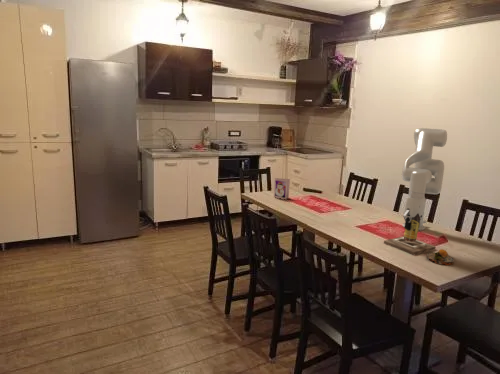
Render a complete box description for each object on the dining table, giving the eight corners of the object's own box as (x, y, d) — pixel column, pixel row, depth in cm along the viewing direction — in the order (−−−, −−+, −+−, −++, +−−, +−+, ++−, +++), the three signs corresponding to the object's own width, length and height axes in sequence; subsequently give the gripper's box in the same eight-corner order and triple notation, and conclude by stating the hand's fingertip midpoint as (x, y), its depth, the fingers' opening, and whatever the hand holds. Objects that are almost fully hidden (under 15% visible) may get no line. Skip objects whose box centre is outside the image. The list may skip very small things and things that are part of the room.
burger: (442, 255, 190) (445, 241, 188) (459, 265, 179) (461, 250, 177) (420, 256, 188) (423, 241, 186) (435, 266, 177) (438, 250, 175)
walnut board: (405, 238, 212) (405, 234, 212) (435, 249, 198) (435, 244, 197) (383, 243, 203) (384, 238, 202) (413, 255, 188) (414, 250, 188)
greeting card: (273, 197, 293) (274, 178, 290) (278, 195, 299) (279, 177, 296) (285, 200, 286) (287, 180, 283) (290, 198, 292) (292, 179, 289)
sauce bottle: (401, 239, 200) (406, 203, 196) (406, 237, 204) (411, 201, 200) (413, 243, 195) (419, 206, 191) (418, 240, 200) (424, 204, 195)
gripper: (420, 191, 202) (415, 224, 206) (399, 194, 193) (394, 228, 197) (433, 195, 196) (428, 228, 200) (412, 198, 187) (407, 233, 191)
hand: (411, 228), depth 198 cm, fingers closed on sauce bottle, 6 cm apart
